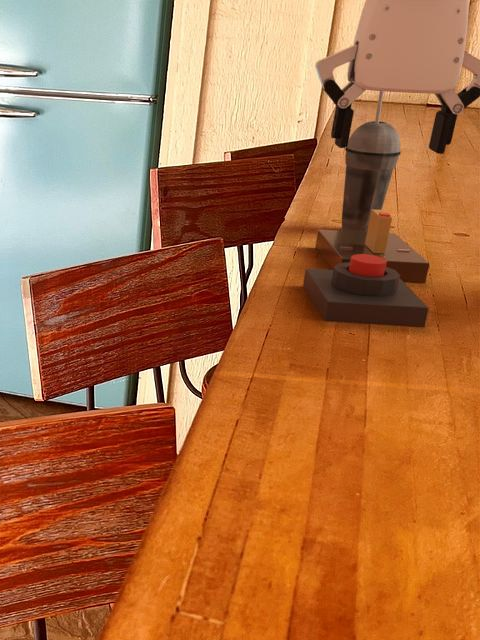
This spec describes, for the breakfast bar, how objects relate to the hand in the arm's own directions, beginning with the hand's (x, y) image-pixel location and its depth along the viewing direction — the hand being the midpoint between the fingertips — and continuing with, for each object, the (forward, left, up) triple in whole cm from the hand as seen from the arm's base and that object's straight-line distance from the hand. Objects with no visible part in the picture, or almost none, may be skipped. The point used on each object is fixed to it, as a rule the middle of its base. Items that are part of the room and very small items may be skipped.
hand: (387, 148), depth 93 cm
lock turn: (-4, -12, -14) cm, 19 cm away
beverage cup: (-7, -31, -17) cm, 36 cm away
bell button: (+1, +3, -13) cm, 13 cm away
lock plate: (-4, -14, -17) cm, 22 cm away
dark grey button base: (+1, +3, -17) cm, 17 cm away
